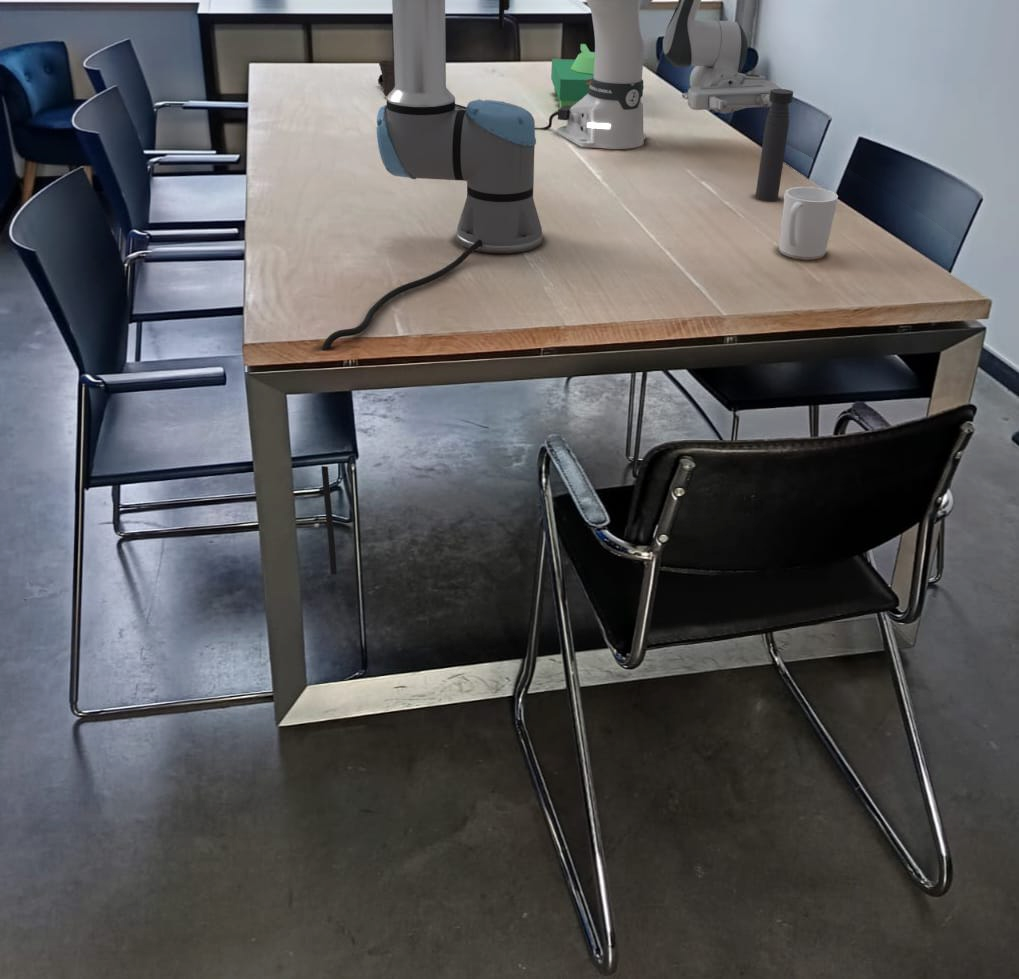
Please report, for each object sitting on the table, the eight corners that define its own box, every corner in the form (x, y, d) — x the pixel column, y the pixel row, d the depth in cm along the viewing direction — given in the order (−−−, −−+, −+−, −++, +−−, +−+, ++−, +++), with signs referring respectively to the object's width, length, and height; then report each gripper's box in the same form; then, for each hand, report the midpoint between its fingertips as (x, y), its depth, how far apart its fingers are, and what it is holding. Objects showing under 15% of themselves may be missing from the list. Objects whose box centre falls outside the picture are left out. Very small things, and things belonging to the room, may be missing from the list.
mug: (790, 240, 199) (799, 183, 193) (836, 251, 194) (846, 193, 188) (761, 255, 191) (769, 197, 186) (808, 267, 186) (818, 208, 181)
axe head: (443, 87, 294) (392, 77, 287) (436, 115, 299) (385, 106, 292) (421, 62, 307) (371, 52, 300) (414, 89, 311) (365, 80, 304)
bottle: (752, 199, 221) (767, 94, 210) (758, 193, 224) (773, 89, 213) (774, 202, 219) (790, 96, 208) (780, 196, 222) (796, 92, 212)
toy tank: (613, 40, 304) (631, 65, 274) (610, 86, 310) (627, 115, 281) (550, 39, 303) (561, 63, 273) (548, 85, 309) (558, 114, 280)
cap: (766, 101, 211) (767, 91, 210) (772, 97, 214) (774, 87, 213) (788, 104, 209) (790, 94, 208) (794, 100, 212) (795, 90, 211)
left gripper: (534, -91, 215) (530, 25, 226) (409, -94, 217) (412, 20, 229) (530, -88, 209) (526, 31, 220) (401, -92, 211) (405, 26, 222)
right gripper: (680, 78, 241) (698, 91, 229) (769, 74, 243) (792, 86, 231) (678, 108, 244) (696, 122, 232) (766, 104, 246) (789, 117, 234)
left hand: (468, 26), depth 224 cm, fingers open, 13 cm apart
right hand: (745, 104), depth 232 cm, fingers open, 8 cm apart
